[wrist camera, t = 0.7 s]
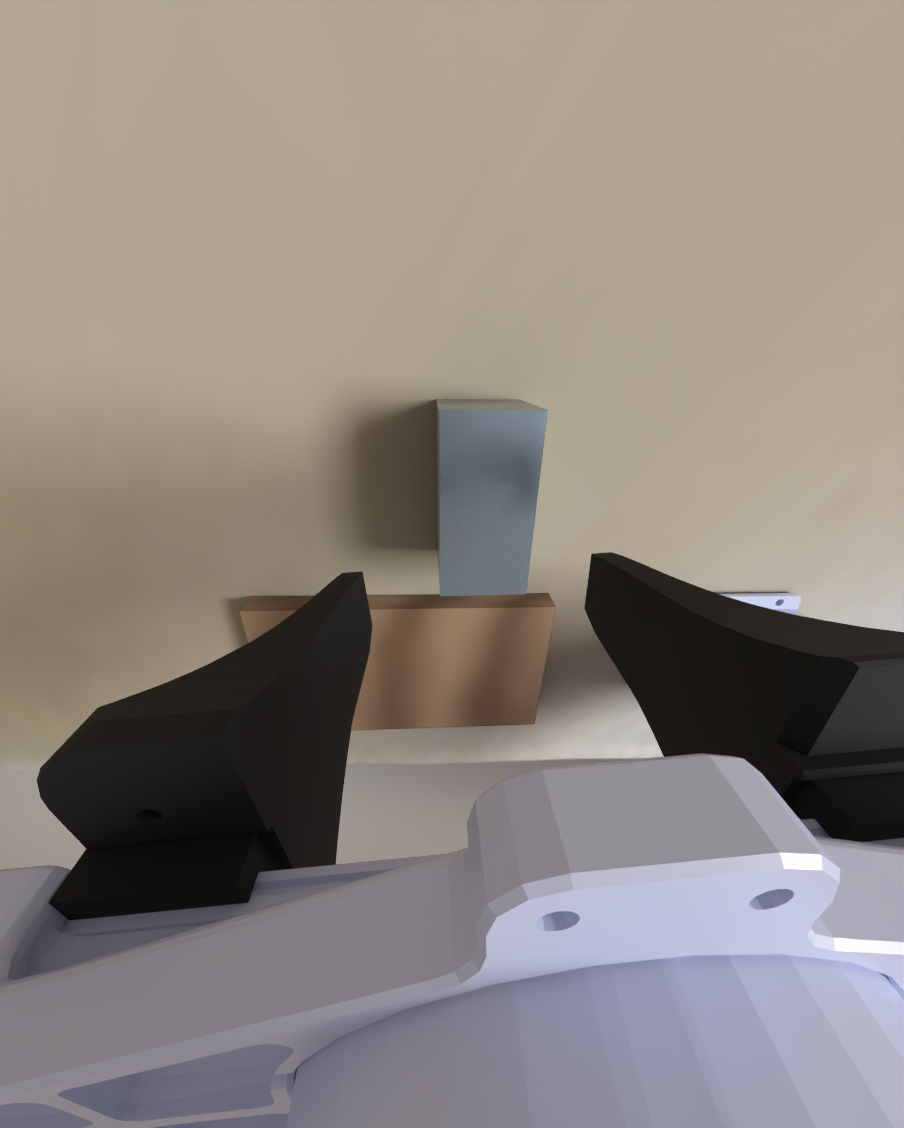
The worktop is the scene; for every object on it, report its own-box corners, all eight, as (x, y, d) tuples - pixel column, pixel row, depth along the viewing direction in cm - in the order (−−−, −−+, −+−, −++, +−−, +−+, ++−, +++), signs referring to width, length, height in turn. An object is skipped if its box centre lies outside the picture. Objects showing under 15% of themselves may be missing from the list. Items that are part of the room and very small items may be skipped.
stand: (548, 593, 23) (555, 607, 22) (529, 707, 28) (534, 724, 27) (250, 596, 22) (239, 611, 21) (281, 715, 27) (273, 733, 26)
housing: (518, 399, 18) (547, 410, 14) (505, 548, 22) (525, 594, 18) (436, 398, 18) (439, 409, 14) (437, 549, 22) (440, 596, 17)
